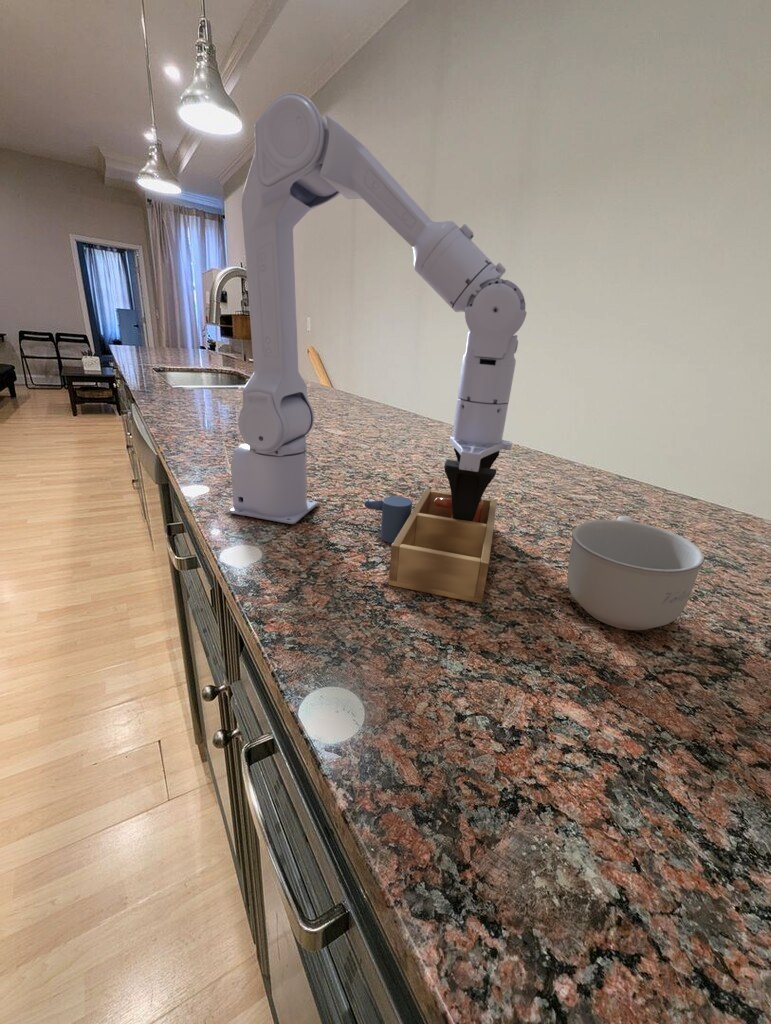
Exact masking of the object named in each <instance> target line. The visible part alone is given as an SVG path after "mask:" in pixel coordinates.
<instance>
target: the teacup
mask: <svg viewBox="0 0 771 1024" xmlns="http://www.w3.org/2000/svg"><path fill="white" fill-rule="evenodd" d="M571 539H572V540H571V546H570V550H569V557H568V562H567V574H566V580H567V586H568V590H569V592H570V595H571V597H572V598H573V599H574V600H575V602H576V603H577V604H578V605H579V606H580V607H582V608H583V610H584V611H585V612H586V613H587V614H588V615H590V617H592V618H594V619H595V620H597V621H599V622H601V623H603V624H605V625H608V626H611V627H613V628H617V629H621V630H626V631H646V630H649V629H655V628H659V627H663V626H667V625H668V624H671V623H673V622H675V620H676V619H678V618H679V617H680V616H681V614H682V613H683V612H684V610H685V609H686V606H687V604H688V601H689V599H690V597H691V595H692V592H693V590H694V587H695V584H696V580H697V578H698V574H699V571H700V568H701V567H702V566H703V564H704V561H705V556H704V553H703V551H702V550H701V548H699V547H698V546H697V545H696V544H694V543H693V542H692V541H690V540H689V539H687V538H685V537H683V536H682V535H679V534H677V533H675V532H672V531H669V530H667V529H663V528H660V527H656V526H654V525H651V524H645V523H640V522H635V520H634V518H633V517H631V516H626V515H620V516H618V517H617V518H616V519H595V520H589V521H585V522H581V523H580V524H578V525H576V526H575V527H574V528H573V529H572V533H571Z"/></svg>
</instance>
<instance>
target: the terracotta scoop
mask: <svg viewBox="0 0 771 1024" xmlns="http://www.w3.org/2000/svg"><path fill="white" fill-rule="evenodd" d="M434 504H435V506H437V507H443V508H449V509H452V499H447V498H441V497H437V498H436V499H435V500H434ZM482 507H483V500H482V499H481V500H480V503H479V506H478V509H477V512H476V514H475V517H474V519H473V521H472V522H477V523H480V519H481V513H482ZM451 518H453V512H452V515H451Z"/></svg>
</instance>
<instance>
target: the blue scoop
mask: <svg viewBox="0 0 771 1024" xmlns="http://www.w3.org/2000/svg"><path fill="white" fill-rule="evenodd" d="M364 507H365V509H368V510H375V511H379V512H381V521H380V522H381V523H380V535H379V536H380V539H381V540H382V541H383V542H385V543H388V544H393V542H394V541H395V539H396V537H397V536H398V534H399V533H400V531H401V529H402V528H403V526H404V524H405V523H406V521H407V519H408V518H409V516H410V514H411V513H412V510H413V509H412V508H413V501H412V500H411V499H410V498H408V497H405V496H400V495H390V496H386V497H384V498H383V499H382V500H377V499H371V498H367V499H365V501H364Z"/></svg>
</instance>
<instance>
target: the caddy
mask: <svg viewBox="0 0 771 1024" xmlns="http://www.w3.org/2000/svg"><path fill="white" fill-rule="evenodd" d="M437 497H441V498H447V499H452V496H451V492H448V491H441V490H434V489H426V488H425V490H424V491H423V493H422V494H421V496H420V498H419V499H418V500H417V503H416V504H415V506H414V508H413V509H412V510H411V514H410V516H409V518H408V519H407V521H406V523H405V524H404V526H403V528H402V529H401V531H400V533H399V534H398V536H397V537H396V539H395V541H394V542H393V543H391V547H390V558H389V559H390V560H389V574H388V585H389V586H392V587H393V586H394V587H398V588H401V589H408V590H412V591H417V592H422V593H426V594H431V595H437V596H442V597H445V598H449V599H456V600H461V601H465V602H470V603H475V604H479V605H482V604H483V601H484V595H485V589H486V582H487V577H488V571H489V566H490V560H491V559H490V558H491V552H492V551H491V550H492V544H493V537H494V536H493V535H494V529H495V521H496V520H495V519H496V511H497V504H498V499H493V498H487V497H481V499H482V500H483V507H482V513H481V519H480V523H477V522H471V521H465V520H459V519H453V518H451V515H452V509H449V508H443V507H437V506H435V504H434V500H435V499H436V498H437Z"/></svg>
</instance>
